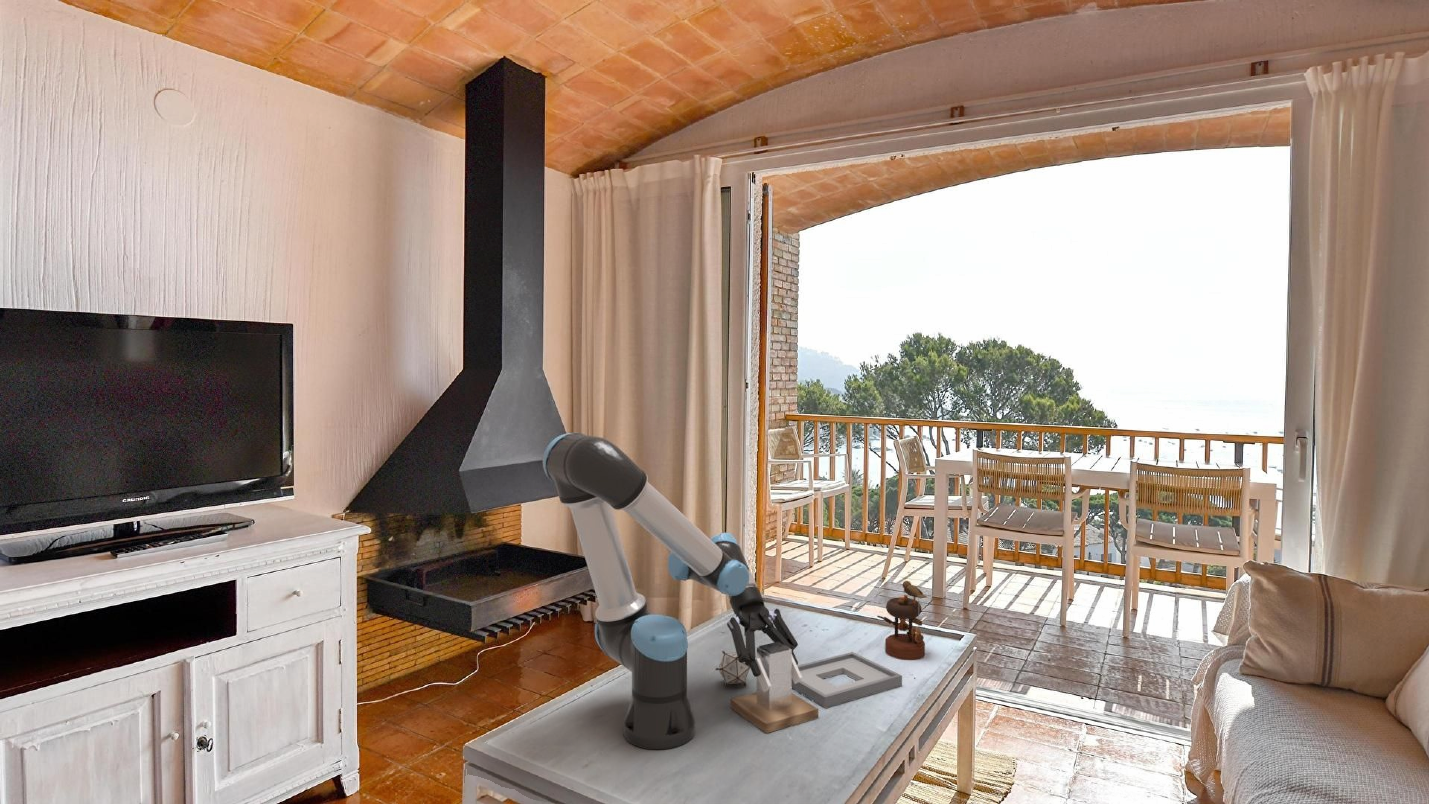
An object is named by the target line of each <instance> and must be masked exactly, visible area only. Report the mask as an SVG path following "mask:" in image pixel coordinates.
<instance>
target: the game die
mask: <svg viewBox="0 0 1429 804" xmlns="http://www.w3.org/2000/svg"><path fill="white" fill-rule="evenodd" d="M722 655H723V656H722V659H721V661H720V663H719V665H718V667H716V668H715V671H719V674H720V675H721V677H722V679H723V681H724V683H725V684H724V688H726V687H727V686H728V685H732V684H733V685H734V684H743V685H744V686H745V685H746V686H747V683H746V682H745V681H746V679H747V677H748V673H749V671H750V670H751V668H750V666H747V665H746V664H745V662H743V663H740V662H739V660H738V656H737V653H736V652H727V653H726V652H725V651H724V650H722Z"/></svg>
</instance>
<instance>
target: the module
mask: <svg viewBox="0 0 1429 804" xmlns="http://www.w3.org/2000/svg"><path fill="white" fill-rule="evenodd" d="M757 658H760V660H761V663H762V665H763V667H764V670H765V672H766V674H767V677H768V679H769V681H770V684H771V687H770V688H769V689H768V690H767V691H766V692H763V690H762V687H761V685H760V683H759V680H758V678H757V677H756V692H755V693H756V703H758V704H759V705H761V706H762V707H764V708H765V709H767V710H768V711H772V710H776V709H779V708H783V707H786V706H790V705H791V693H792V688H791V680H792V649H790V648H789V647H787V646H785V645H784V644H782V643H780V642H771V643H767V644H761V645H758V646H757V647H756V659H757Z"/></svg>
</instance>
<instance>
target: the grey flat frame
mask: <svg viewBox="0 0 1429 804" xmlns="http://www.w3.org/2000/svg"><path fill="white" fill-rule="evenodd" d="M797 667H798V669H799V671H800V673H801V676H802V679H801V680H800V681H799V682H798V683H796V684H794V682H793V679H792V680H791V687H792V688H793V689H792V688H791V689H792V690H794V691H795V692H797V691H798V693H800V695H802V694H803V695H802V696H804V697H806V698H807V697H808V698H807V699H809V700H811V701H812V700H813V701H812V702H814V703H816V704H817V703H818V705H819V706H820V707H822V706H823V707H822V708H824V709H827V708H830V707H834V706H837V705H841V704H844V703H848V702H850V701H854V700H857V699H858V700H859V699H861V698H865V697H868V696H872V695H875V694H878V693H879V694H880V693H881V692H884V690H885V691H889V690H892V689H895V687H896V688H898V687H902V686H903V675H901V674H900V673H898V672H895V671H893V670H891V669H889V668H887V667H885V666H883V665H881V664H879V663H876V662H875V661H872V660H870V659H869V658H866V657H863V656H862V655H859V654H858V653H856V652H853V651H850V652H847V653H842V654H839V655H835V656H830V657H827V658H823V659H818V660H815V661H814V660H813V661H810V662H806V663H803V664H798V665H797ZM842 674H843V675H845V676H847V677H849V678H851V679H853V680H854V679H855V681H852V682H849V683H848V682H847V683H845V684H842V685H838V686H836V685H834V684H832V683H830V682H829V681H826V680H825V679H827V677H828V678H831V677H830V676H832V677H836V676H840V675H842ZM824 678H825V679H824Z"/></svg>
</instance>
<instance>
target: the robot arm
mask: <svg viewBox="0 0 1429 804" xmlns="http://www.w3.org/2000/svg"><path fill="white" fill-rule="evenodd" d="M542 467H543V471H544V473H545V476H546V477H547V478H548V480H550V481H551V482H552V483H553V484H554V485H555V487H556V491H557V495H558V498H559V501H560V503H561V504H562V505H563V506H566V507H568V508H569V509H570V512H571V516H572V519H573V522H574V526H575V529H576V532H577V535H578V538H579V542H580V544H581V549H582V553H583V556H584V558H585V562H586V566H587V568H588V572H589V576H590V578H591V581H592V585H593V589H594V591H595V595H596V598H597V602H598V607H597V608H596V610H595V611H594V615H595V619H596V623H595V624H594V637H595V641H596V643H597V645H598V646H599V647H600V649H601V651H602V652H603V653H604V654H605V655H606V656H607V657H609V658H611V659H612V660H614V661H616V662H617V663H618V664H620V665H621V666H623V667H624V668H625V669H627V670H628V671H630V672H631V699H630V701H629V705H628V707H627V711H626V714H625V717H624V720H623V736H624V739H625V740H626V742H628V743H630V744H632V745H634V746H635V747H639V748H642V749H649V750H666V749H671V748H676V747H679V746H682V745H684V744H686V743H688V742H689V741H690V740H692V738H694V736H695V734H696V719H695V716H694V712H693V710H692V708H691V704H690V700H689V697H688V647H689V642H688V636H687V629H686V626H685V625H684V624H683V623H682V622H681V620H679V619H677V618H675V617H672V616H669V615H666V616H665V615H663V614H650V610H649V607H648V602H647V601H646V600H647V599H646V597H645V595H643V594H642V593H638V592H637V590H636V587H635V583H634V580H633V576H632V573H631V570H630V566H629V563H628V559H627V556H626V553H625V550H624V545H623V542H622V538H621V535H620V532H619V527H618V525H617V522H616V518H615V515H614V511H613V510H616V511H622V510H623V511H624V512H625V513H627V514H628V516H629V517H631V518H632V519H634V521H635V522H637V523H638V524H639V525H640V526H641V527H643V529H645V530H646V531H647V532H648V533H650V534H651V535H652V536H653V537H654V538H655V539H656V540H658V541H659V542H660V543H661V544H662V545H663V546H665V547H666V548H667V549H668V550H669V551H670V553H668V554H669V555H668V556H667V557H668V558H667V570H668V573H669V575H670V577H671V578H672V579H673V580H675V581H684V582H686V581H688V580H690V581H691V580H692V581H694V582H697V583H699V584H702V585H704V586H706V587H709V588H711V589H713V590H715V591H717V592H719V593H720V594H723V595H726V596H727V599H729V604H730V606H731V609H732V611H733V614H735V615H736V616H735V617H734V616H733V617H730V618H729V620H728V621H727V622H726V625H727V628H728V629H729V631H730V633H731V636H732V640H733V641H732V642H733V645H734V648H735V653H737V656H738V660H739V662H740V663H743V662H745V664H746V665H747V666H750V670H751V673H752V675H753V677H755V678H756V679H757V678H758V680H759V683H760V685H761V687H762V690H763V692H766V691H767V690H768V689H769V688H770V687H771V684H770V681H769V679H768V677H767V674H766V672H765V670H764V667H763V665H762V663H761V660H760V658H757V654H756V638H755V635H756V634H755V632H757V631H758V632H759V631H761V632H762V633H763V634H766V635H767V636H768V637H769V638H770V640H771V641H772V643H774V642H780V643H782V644H784V645H785V646H787V647H789V648H790V649H792V679H793V682H794V684H796V683H798V682H799V681H800V680H801V679H802V676H801V673H800V671H799V669H798V667H797V666H798V665H799V662H798V660H797V657H796V654H795V652H794V650H795V649H797V647H798V645H799V643H798V641H797V640H796V638H795V636H794V635H793V633H792V632H791V630H790V628H789V627H788V626H787V624H786V622H785V621H784V618H783V617H782V615H781V611H780V609H779V608H775V609H774V610H769V609H768V608H767V607H766V606H765V601H764V598H763V596H762V594H761V592H760V589H759V588H758V584H757V582H756V580H755V578H754V576H753V574H752V572H751V569H750V567H749V565H748V563H747V561H746V558H745V556H744V553H743V551H742V549H741V546H740V545H739V543H738V541H737V539H736V538H735V536H734V535H733V534H732V533H729V532H721V533H720V534H716V535H714V536H712V537H711V538H709V537H708V536H707V535H706V534H705V533H704V532H703V531H702V530H701V529H700V528H698V526H696V524H694V523H693V522H692V521H691V520H690V519H689V518H688V517H687V516H685V514H684V513H682V512H681V511H680V510H679V509H678V508H677V507H676V506H675V505H673V503H671V501H669V499H667V498H666V497H665V496H664V495H663V494H662V493H660V491H658V490H657V489H656V488H655V487H654V486H653V485H652V484H651V483H650V482H648V481H649V478H648V477H649V476H648V474H647V473H646V472H645V471H644V470H643V469H641V467H640V466H639V465H637V464H636V462H634V460H632V458H630V457H629V456H628V455H627V454H626V453H625V452H624V451H623V450H622V449H621V448H619V446H617V445H616V444H614V443H613V442H612V441H610V440H609V439H606V438H604V437H600V436H595V435H594V436H593V435H592V436H591V435H587V434H583V433H581V432H572V433H571V432H570V433H564V434H560V435H558V436H557V437H555V438H554V439H553V440H551V442H549V444H548V445H547V446H546V448H545V450H544V453H543V457H542ZM740 625H741V626H742V627H743V633H744V636H743V633H742V630H741V626H740ZM744 637H745V641H744Z"/></svg>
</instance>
